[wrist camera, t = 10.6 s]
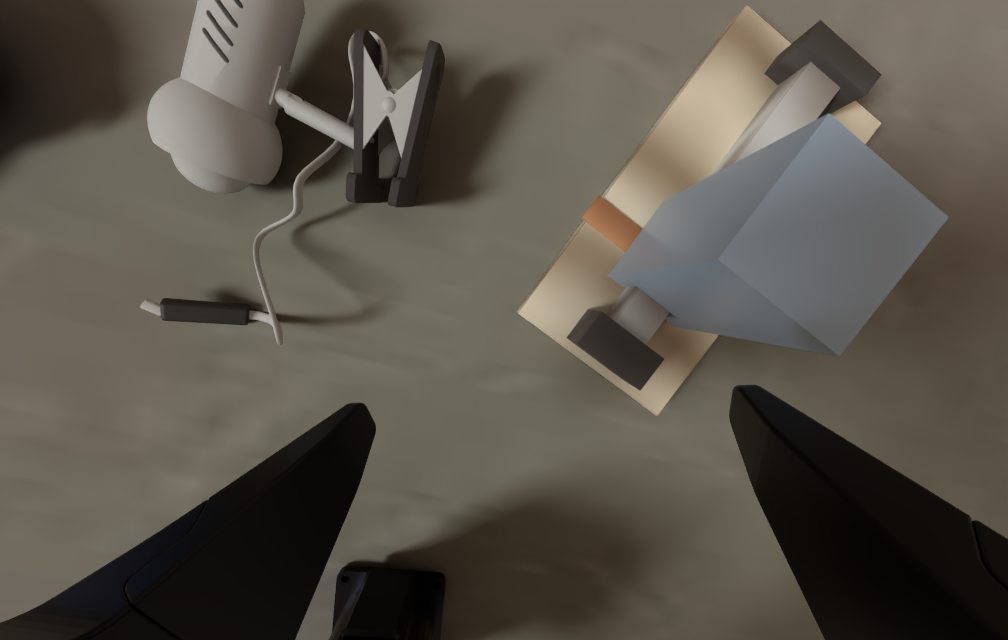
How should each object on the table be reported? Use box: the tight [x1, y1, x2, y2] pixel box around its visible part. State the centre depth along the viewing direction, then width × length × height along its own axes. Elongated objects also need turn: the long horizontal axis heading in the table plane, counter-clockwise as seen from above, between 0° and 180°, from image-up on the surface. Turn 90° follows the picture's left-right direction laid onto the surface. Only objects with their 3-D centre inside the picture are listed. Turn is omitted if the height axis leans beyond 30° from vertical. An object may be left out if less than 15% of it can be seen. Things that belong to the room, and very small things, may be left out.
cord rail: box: [516, 5, 881, 416], centre depth 19 cm, size 20×11×4 cm, turn 144°
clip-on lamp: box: [140, 0, 445, 345], centre depth 18 cm, size 12×6×18 cm
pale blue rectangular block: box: [608, 113, 949, 357], centre depth 15 cm, size 5×5×9 cm
